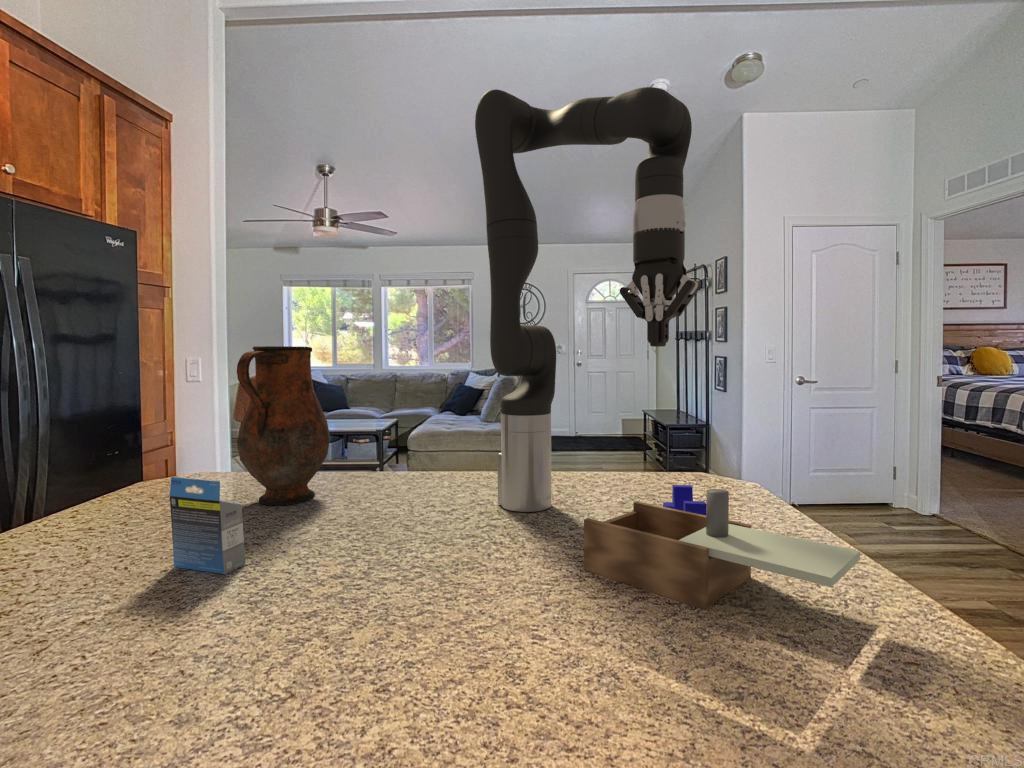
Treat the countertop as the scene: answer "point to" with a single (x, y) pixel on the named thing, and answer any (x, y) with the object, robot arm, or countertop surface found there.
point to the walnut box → (660, 555)
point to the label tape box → (205, 528)
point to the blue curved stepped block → (685, 500)
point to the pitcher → (282, 423)
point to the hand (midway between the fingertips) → (658, 346)
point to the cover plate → (769, 547)
